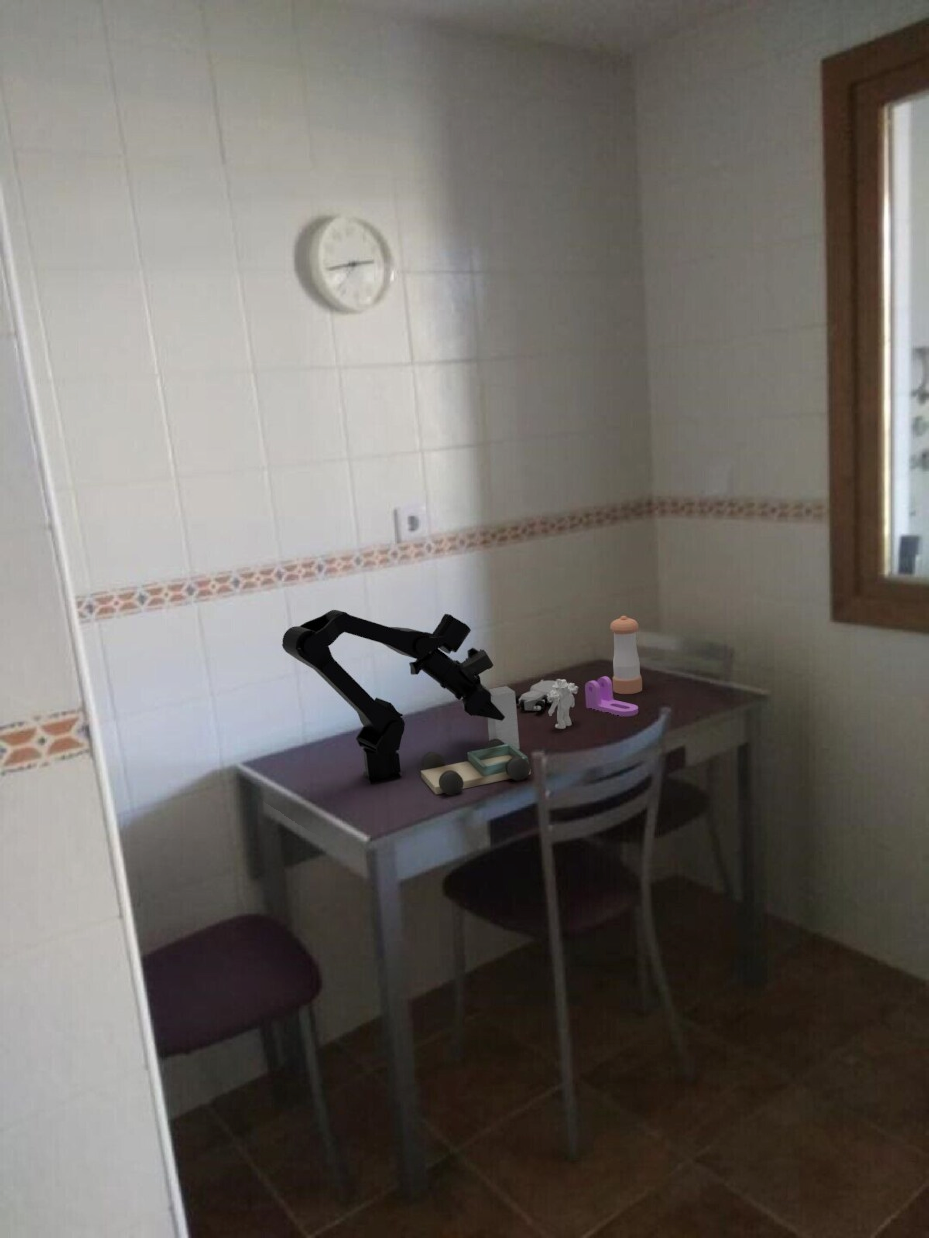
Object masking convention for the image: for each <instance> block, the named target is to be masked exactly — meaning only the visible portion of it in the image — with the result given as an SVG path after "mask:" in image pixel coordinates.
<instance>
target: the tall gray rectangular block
mask: <svg viewBox="0 0 929 1238" xmlns="http://www.w3.org/2000/svg"><path fill="white" fill-rule="evenodd" d="M487 689H488V688H487ZM488 690H489V691H490V693H491V701H492V703H493V704H494V705H495V706H496V707H497V708H498V709H499V710H500V712H501V713H502V714H503V715H504V716H505V718H504V719H503V720H502V721H500V720H496V719H491V718H487V717H486V719H487V729H488V730H487V731H488V739H489V740H488V742H489V741H490V740H492V739H500V740H501V741H502V742H504V743H505V744H512V745H513V746H514V747H515V748H517V749H518V750H520V739H519V737H520V736H519V726H518V724H519V723H518V715H517V713H518V711H517V704H516V699H515V696H516V691H515V690H513V689H511V688H510V687H509V686H507V685H505V686H500V687H494V688H489V689H488Z"/></svg>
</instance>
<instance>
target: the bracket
mask: <svg viewBox="0 0 929 1238" xmlns="http://www.w3.org/2000/svg"><path fill="white" fill-rule="evenodd" d="M584 684H585V685H584V692H585V693H584V694H585V708H586V709H589V708H592V709H591V710H593V709H595V710H594V711H597V710H599V711H598V712H601V711H602V712H603V713H605V712H609V713H611V714H610V715H613V714H614V715H613V716H617V715H619V716H618V717H633V716H636V715H638V714H639V706H638V705H636V704H633V703H630V702H624V701H619V700H616V699H614V694H613V693H614V691H613V681H612V680H611V678H610V677H608V676H607V675H605V676H604V675H603V676H601V677H599V678H597V680H589V681H586V683H584ZM609 713H608V714H609Z"/></svg>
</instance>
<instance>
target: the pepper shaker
mask: <svg viewBox="0 0 929 1238" xmlns="http://www.w3.org/2000/svg"><path fill="white" fill-rule="evenodd" d="M609 628H610V631H611V633H613V646H614V651H613V661H612V668H613V676H612V689H613V693H615V694H616V693H617V694H618V695H619V694H620V695H632V694H633V695H634V694H638V693H639V692H642V691H643V678H642V675H641V673H640V671H641V666H640V665H641V663H640V659H639V654H638V653H639V652H638V649H637V634H636V632H638V630H639V628H640V626H639V623H638V622H637V620H635V619H633V618H630V617H627V615H622V616H620V618H617V619H615V620H612V621H611V623H610V626H609Z"/></svg>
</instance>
